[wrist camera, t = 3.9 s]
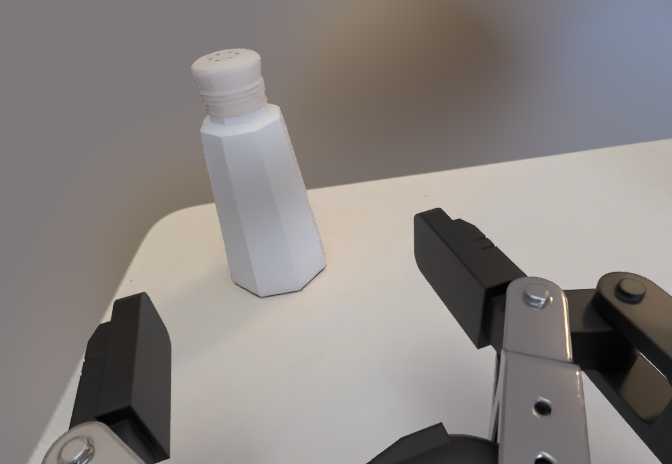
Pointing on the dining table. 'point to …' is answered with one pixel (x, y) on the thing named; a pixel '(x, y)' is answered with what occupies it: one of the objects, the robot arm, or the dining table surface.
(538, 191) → the dining table surface
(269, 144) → the salt shaker
